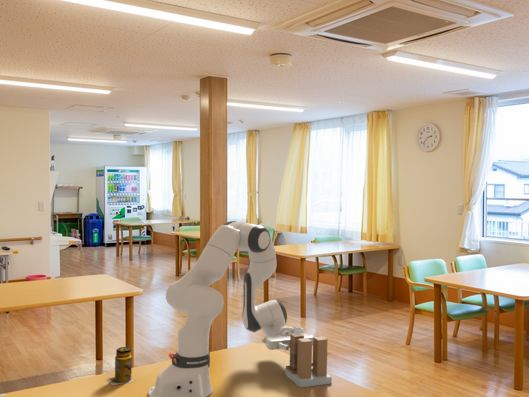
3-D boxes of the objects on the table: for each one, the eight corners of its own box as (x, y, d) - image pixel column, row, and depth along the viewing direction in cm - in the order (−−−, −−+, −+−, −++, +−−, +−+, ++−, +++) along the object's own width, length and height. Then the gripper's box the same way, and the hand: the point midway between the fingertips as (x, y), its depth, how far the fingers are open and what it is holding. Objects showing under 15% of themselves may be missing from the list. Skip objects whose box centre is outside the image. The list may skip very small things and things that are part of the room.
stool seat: (300, 387, 186) (301, 343, 186) (285, 374, 199) (286, 333, 199) (331, 383, 191) (332, 340, 191) (314, 370, 204) (315, 330, 204)
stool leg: (293, 372, 194) (294, 336, 194) (289, 369, 198) (290, 333, 198) (303, 371, 196) (304, 335, 196) (298, 368, 200) (299, 333, 199)
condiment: (134, 381, 189) (135, 349, 189) (112, 386, 185) (112, 353, 184) (128, 375, 195) (129, 344, 195) (106, 379, 191) (107, 348, 190)
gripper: (260, 331, 205) (273, 341, 192) (305, 327, 212) (321, 336, 200) (260, 346, 205) (273, 357, 192) (305, 342, 213) (320, 352, 200)
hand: (298, 347), depth 196 cm, fingers open, 8 cm apart
